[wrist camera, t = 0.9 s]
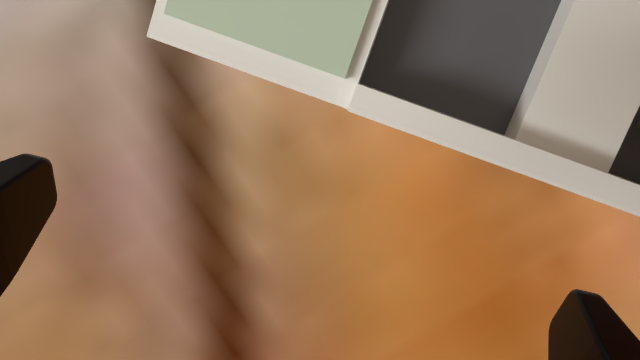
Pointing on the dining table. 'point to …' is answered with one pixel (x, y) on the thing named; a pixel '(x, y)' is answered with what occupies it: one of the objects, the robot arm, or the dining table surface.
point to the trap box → (452, 74)
